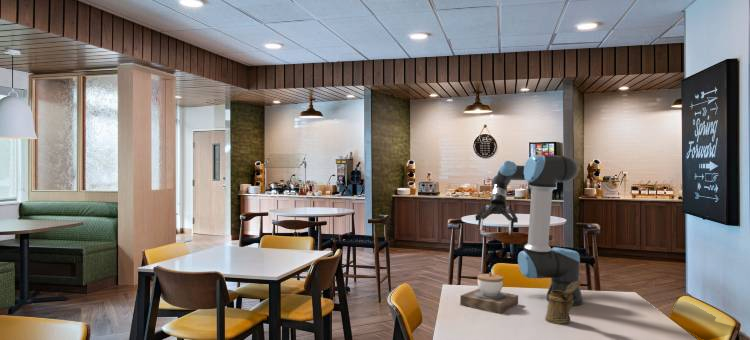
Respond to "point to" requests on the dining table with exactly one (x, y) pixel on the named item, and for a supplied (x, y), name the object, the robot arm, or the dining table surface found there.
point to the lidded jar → (490, 284)
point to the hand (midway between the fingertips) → (495, 231)
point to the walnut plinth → (489, 301)
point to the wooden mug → (561, 304)
